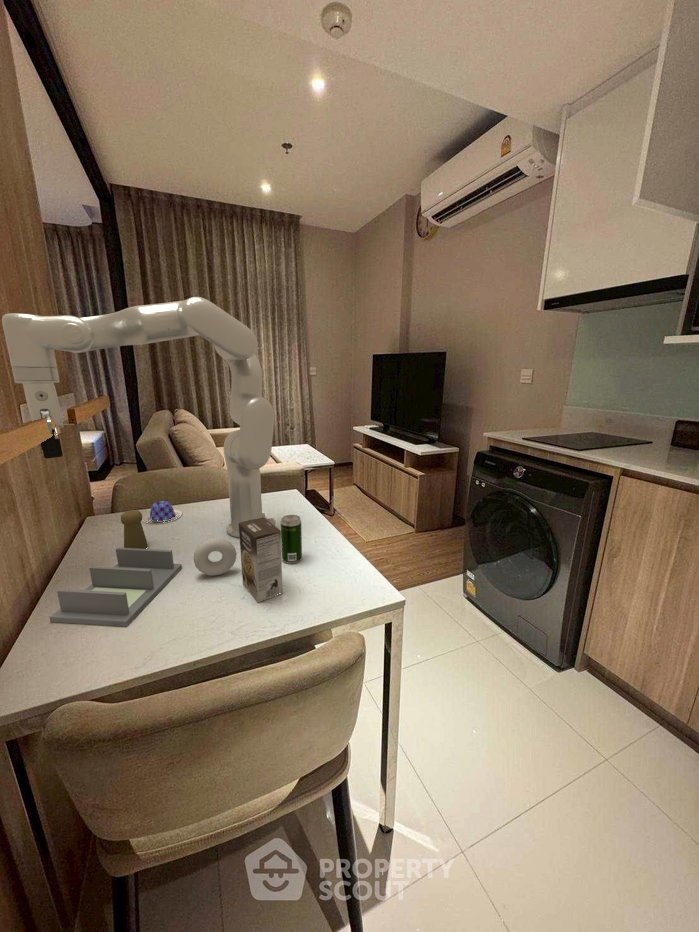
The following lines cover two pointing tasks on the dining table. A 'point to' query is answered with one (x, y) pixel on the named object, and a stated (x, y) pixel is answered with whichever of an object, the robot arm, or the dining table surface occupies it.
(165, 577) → the rack
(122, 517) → the brown gourd-shaped form
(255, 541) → the coffee box
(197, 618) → the dining table surface
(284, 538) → the beer can
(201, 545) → the donut
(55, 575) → the dining table surface
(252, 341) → the robot arm
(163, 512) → the purple patterned dome
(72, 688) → the dining table surface
